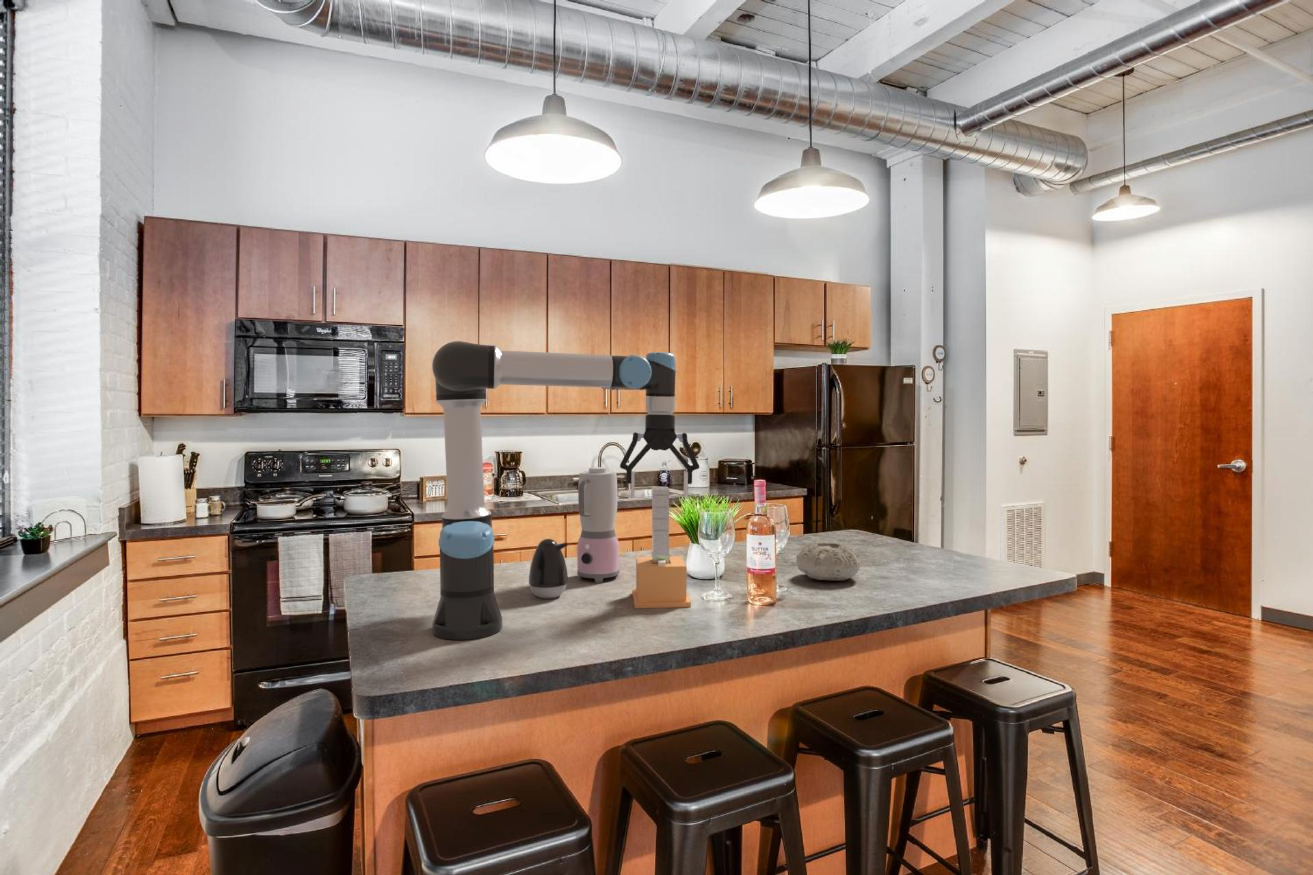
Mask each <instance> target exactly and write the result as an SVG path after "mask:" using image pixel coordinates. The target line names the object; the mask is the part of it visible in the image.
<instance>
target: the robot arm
mask: <svg viewBox="0 0 1313 875" xmlns="http://www.w3.org/2000/svg"><path fill="white" fill-rule="evenodd" d="M432 359H433V360H432V362H431V363H432V366H431V367H432V373H433V376H434V381H435V398H436V403H437V404H439V406H441V407H442V410H443V428H444V430H443V431H444V451H445V453H444V454H445V473H446V496H447V498H446V499H447V509H446V510H445V511H444V512H443V513H442V515H441V530H440V533H439V538H438V547H439V584H440V589H439V590H440V591H439V592H440V594H439V595H440V596H439V601H438V605H437V607H436V611H435V613H434V617H433V619H432V634H433V635H434V636H435V637H437V638H441V639H444V640H457V641H458V640H459V641H461V640H462V641H463V640H465V641H466V640H473V639H481V638H485V637H488V636H491V635H494V634H497V633H498V632H500V631H501V630H502V629H503V616H502V613H501V610H500V607H499V605H498V601H497V597H496V596H495V570H494V569H495V568H494V567H495V564H494V562H495V560H494V558H495V557H494V554H495V553H494V551H495V549H494V544H495V536H494V530H493V521H492V511H490V510H489V509H488V508H487V506H486V505H485V485H484V484H485V483H484V480H485V479H484V461H483V460H484V459H483V440H482V439H483V438H482V437H483V436H482V435H483V434H482V415H481V414H482V413H481V408H482V406H483V405H484V403H486V401H487V389H488V390H490V389H491V390H492V389H493V390H494V389H495V390H496V388H498V386H500V385H502V386H503V385H508V386H511V385H513V386H535V387H536V386H538V387H542V386H543V387H569V388H570V387H572V388H573V387H574V388H575V387H576V388H581V387H582V388H601V389H603V390H610V391H615V390H616V391H617V390H622V391H623V390H624V391H625V390H626V391H628V390H630V391H631V390H634V391H645V413H647V414H646V415H645V425H644V428H645V429H644V430H645V431H644V433H640V432H632V440H631V442H630V443H629V446H628V448H627V450H626V452H625V454H624V456H623V458H622V459H621V462H620V463H619V468H620V469H622V470H625V471H626V484H628V485H630V498H635V478H636V477H635V470H634V468H635V467H636V466H637V464H638V463H639V462H640V461H641V460H642V459H643V457H644V456H646V454H647V453H648V452H649V451H650V450H653V451H659V450H661V451H668V450H670V451H671V452H672V454H674V456H675V457H676V458H677V459H678V461H679V462H680V464H682V466H683V467H684V468H685V469H686V470H684V471H683V497H684V498H688V493H689V492H688V491H689V488H688V487H689V485H691V484H692V483H693V472H694V471H695V470H699V469H700V465H699V462H698V461H697V458H696V456H695V454H694V452H693V449H692V448H691V445H690V443H689V442H688V434H687V432H682V433H676V431H675V430H676V427H675V426H676V416H675V415H674V413H675V412H676V376H677V374H676V373H677V370H676V356H675V355H674V354H673V353H671V352H648V353H646V357H643V356H641V355H636V354H631V355H628V356H627V355H610V354H609V355H608V354H607V355H606V354H589V353H586V354H585V353H584V354H583V353H567V352H566V353H563V352H540V351H539V352H538V351H517V350H501V349H500V348H499V347H498V346H497V345H490V344H489V345H487V344H479V343H472V342H469V341H460V340H459V341H458V340H457V341H456V340H455V341H451V342H447V343H446V344H444V345H442V346H441V347H439V349H438V350H437V351H436V353H435V354H434V357H433V358H432ZM642 438H643V440H644V441H645V443H646V444H645V445H644V447H643V448H642V449H641V450H640V451H639V452H638V454H637V455H635V457H634V458H633V460H631V461H630V463H629V464H627V463H628V461H629V459H630V458H631V456H632V454H633V452H634V450H635V449H636V446H637V444H638V442H640V441H641V440H642ZM677 439H678V441H679V442H681V443H682V446H683V447H684V449H685V452H686V454H687V456H688V459H689V460H690V463H691V464H692V465H690V464H689V463H688V461H687V460H686V459H685V458H684V456H683V455H682V454H681V452H680V451H679V450H678V449H677V447H676V446H675V445H674V442H675V441H676V440H677Z"/></svg>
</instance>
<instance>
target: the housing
mask: <svg viewBox="0 0 1313 875" xmlns="http://www.w3.org/2000/svg"><path fill="white" fill-rule="evenodd" d="M635 578H636V579H635V581H636V582H635V584H636V585H635V588H632V590H631V591H632V592H631V595H632V601H633V605H634V609H654V608H655V609H657V608H658V609H659V608H662V609H663V608H691V607H692V602H691V600H690V597H689V595H688V593H687V565H686V563H685V561H684V559H683V557H682V556H681V555H674V556H671V555H670V560H669V564H666V561H665V560H658V564H652V557H651V556H636V558H635Z"/></svg>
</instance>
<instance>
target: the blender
mask: <svg viewBox="0 0 1313 875" xmlns="http://www.w3.org/2000/svg"><path fill="white" fill-rule="evenodd" d="M617 477H618V475H617V473H616V471H611V470H610V471H609V470H608V469H607V467H604V466H603V467H601V466H600V467H599V466H596V467H589V468H588V471H581V472H579V474H578V486H577V488H578V489H577V494H578V495H577V496H578V498H577V499H578V501H577V503H578V513H579V519H580V520H579V521H580V524H581V525H580V527H581V533H580V536H579V538H578V541H577V545H576V547H577V548H576V556H577V557H576V559H577V563H576V565H577V570H576V571H577V579H578V580H582V578H587V579H594V582H595V583H597V582H598V583H603V581H604V579H606V578H613V577H618V576H619V574H620V544H619V539H618V537H617V535H616V532H615V525H616V521H617V520H616V519H617V513H618V478H617Z"/></svg>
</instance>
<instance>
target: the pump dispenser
mask: <svg viewBox="0 0 1313 875" xmlns="http://www.w3.org/2000/svg"><path fill="white" fill-rule="evenodd" d="M568 546H569V545H568V542H562V543H559V544H558V543H557V541H556V540H554V539H552V538H545V539H544V538H543V539H542V540H541V541H540V542H539V543H538V544H537V547H536V548H535V551H534V553H533V556H532V559H531V561H530V562H531V563H530V567H529V575H528V584H529V586H530V590H531V592H532V593H533V595H534V596H536V597H538V598H540V599H544V600H545V599H556V598H558V597H560V596H561V595H562V594H564V592H565V591H566V587H567V584H568V582H569V578H568V577H569V575H568V574H569V573H568V569H567V565H566V564H567V563H566V560H565V558H564V554H563V552H562V549H565V548H566V547H568Z"/></svg>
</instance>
